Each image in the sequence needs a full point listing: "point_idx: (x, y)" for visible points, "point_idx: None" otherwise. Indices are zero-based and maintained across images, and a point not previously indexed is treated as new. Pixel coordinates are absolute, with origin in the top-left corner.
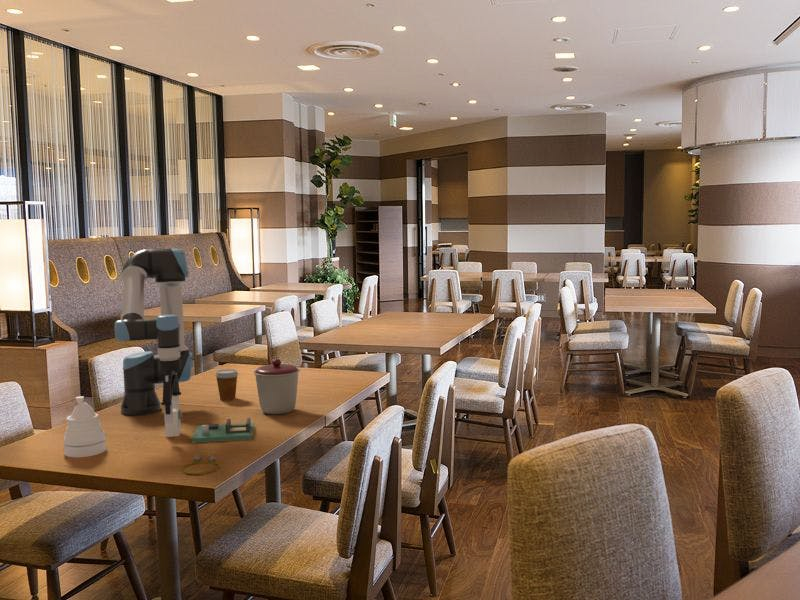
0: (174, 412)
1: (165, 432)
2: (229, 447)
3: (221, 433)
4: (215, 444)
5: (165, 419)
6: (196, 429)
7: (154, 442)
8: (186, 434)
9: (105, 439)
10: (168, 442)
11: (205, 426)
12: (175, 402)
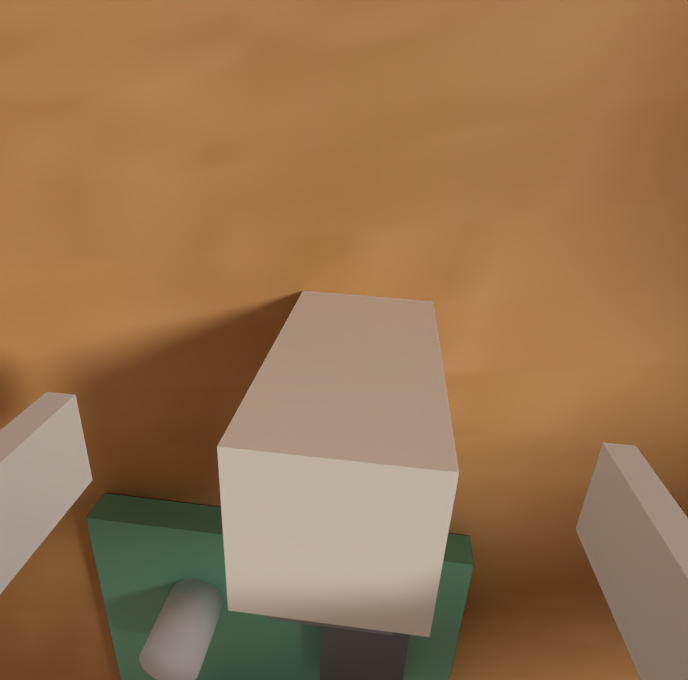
0: (231, 564)
1: (293, 308)
2: (10, 661)
3: (200, 675)
4: (66, 609)
5: (14, 433)
6: None
7: (130, 200)
8: None
9: None
10: (123, 329)
11: (143, 666)
12: (669, 658)
